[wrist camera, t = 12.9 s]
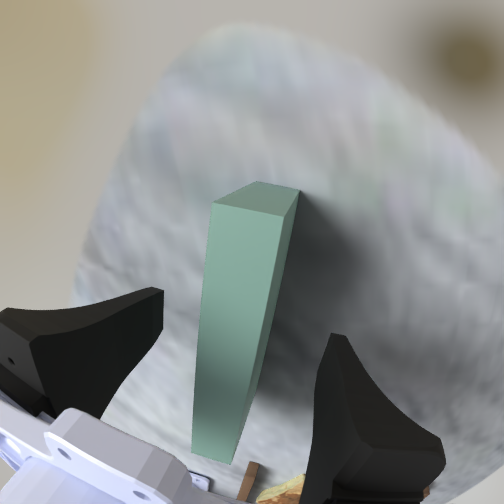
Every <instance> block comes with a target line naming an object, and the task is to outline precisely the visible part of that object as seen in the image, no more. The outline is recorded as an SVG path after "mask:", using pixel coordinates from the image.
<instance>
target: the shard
mask: <svg viewBox="0 0 504 504" xmlns="http://www.w3.org/2000/svg"><path fill="white" fill-rule="evenodd" d="M304 480H305V474H301V475H299V476H297V477H296V478H293V479H291V480H289V481H287V482H285V483H283V484H282V485H278V486H275V487H272V488H269V489H267V490H263V491H262V492H261V494H260V495H259V496H258V497H257V499H256V502H257V503H258V504H298V503H299V500H300V496H301V492H302V488H303V484H304Z"/></svg>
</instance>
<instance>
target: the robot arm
mask: <svg viewBox="0 0 504 504" xmlns="http://www.w3.org/2000/svg"><path fill="white" fill-rule="evenodd" d="M163 308H164V290H161V289H158V288H154V287H149V288H145V289H141V290H138V291H135V292H132V293H129V294H126V295H123V296H120V297H117V298H113V299H110V300H106V301H103V302H99V303H96V304H92V305H87V306H82V307H76V308H69V309H58V310H25V309H14V308H6V309H4V310H2V311H1V312H0V457H1V458H2V459H3V460H4V461H5V462H6V463H7V464H8V465H9V466H10V467H12V468H13V469H14V470H15V471H16V473H15V474H14V476H13V477H12V478H11V479H10V480H9V481H8V482H7V484H6V485H5V486H4V487H3V488H2V490H1V491H0V504H252V503H248V502H244V501H240V500H236V499H232V498H228V497H225V496H221V495H218V494H214V493H211V492H208V489H209V482H210V481H209V479H207V478H205V477H202V476H199V475H196V474H193V473H190V472H189V471H188V469H187V467H186V465H184V464H183V463H182V462H181V461H180V460H178V459H177V458H176V457H175V456H174V455H172V454H170V453H168V452H166V451H164V450H162V449H160V448H159V447H157V446H154V445H152V444H150V443H147V442H145V441H143V440H140V439H138V438H136V437H134V436H131V435H129V434H127V433H125V432H123V431H121V430H119V429H117V428H115V427H112V426H110V425H108V424H107V423H105V422H103V421H101V420H100V418H101V417H102V415H103V413H104V411H105V409H106V408H107V406H108V404H109V403H110V401H111V399H112V398H113V396H114V394H115V393H116V391H117V390H118V388H119V387H120V385H121V384H122V382H123V381H124V380H125V378H126V377H127V376H128V375H129V374H130V372H131V371H132V370H133V369H134V368H135V367H136V365H137V364H138V363H139V362H140V361H141V360H142V358H143V357H144V356H145V355H146V354H147V352H148V351H149V350H150V349H151V348H152V346H153V345H154V343H155V342H156V340H157V339H158V337H159V335H160V334H161V332H162V330H163ZM445 465H446V458H445V454H444V449H443V445H442V442H441V439H440V438H439V437H437V436H435V435H434V434H432V433H430V432H429V431H427V430H425V429H424V428H422V427H421V426H419V425H418V424H417V423H415V422H414V421H412V420H411V419H410V418H409V417H407V416H406V415H405V414H404V413H403V412H401V411H400V410H399V409H398V408H397V407H396V406H395V405H394V404H393V403H392V402H391V401H390V400H389V399H388V398H387V397H386V396H385V395H384V394H383V392H382V391H381V390H380V389H379V388H378V387H377V385H376V384H375V383H374V381H373V380H372V379H371V377H370V376H369V374H368V373H367V372H366V370H365V369H364V367H363V365H362V364H361V362H360V361H359V359H358V357H357V355H356V354H355V352H354V350H353V348H352V346H351V345H350V343H349V341H348V339H347V337H346V336H344V335H339V334H334V333H331V335H330V338H329V341H328V344H327V347H326V349H325V352H324V355H323V358H322V360H321V363H320V366H319V369H318V372H317V378H316V385H315V392H314V419H313V437H312V445H311V450H310V456H309V461H308V466H307V471H306V475H305V480H304V484H303V488H302V492H301V496H300V500H299V503H298V504H420V502H421V501H423V499H424V492H423V490H424V489H425V488H426V487H427V486H428V485H429V484H431V483H432V482H433V481H434V480H435V479H436V478H437V477H438V476H439V475H440V473H441V472H442V471H443V470H444V468H445Z"/></svg>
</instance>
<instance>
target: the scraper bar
mask: <svg viewBox="0 0 504 504" xmlns="http://www.w3.org/2000/svg"><path fill="white" fill-rule="evenodd" d="M299 192H300V190H298V189H293V188H288V187H283V186H278V185H273V184H268V183H262V182H257V181H256V182H254V183H252V184H250V185H247V186H245V187H243V188H241V189H239V190H237V191H235V192H233V193H231V194H229V195H226V196H224V197H222V198H220V199H218V200H216V201H214V202H212V208H211V216H210V224H209V232H208V241H207V250H206V259H205V268H204V278H203V288H202V298H201V309H200V320H199V332H198V344H197V357H196V372H195V387H194V404H193V423H192V447H191V453H194V454H197V455H200V456H203V457H206V458H209V459H212V460H216V461H219V462H222V463H226V464H229V465H231V462H232V460H233V457H234V454H235V451H236V448H237V445H238V443H239V440H240V437H241V434H242V431H243V428H244V425H245V422H246V419H247V416H248V413H249V410H250V407H251V404H252V401H253V398H254V395H255V392H256V389H257V385H258V381H259V376H260V372H261V368H262V364H263V360H264V356H265V351H266V347H267V343H268V339H269V334H270V330H271V326H272V321H273V317H274V312H275V308H276V304H277V299H278V294H279V290H280V285H281V281H282V276H283V271H284V267H285V262H286V257H287V252H288V248H289V243H290V238H291V233H292V228H293V223H294V218H295V213H296V208H297V203H298V197H299Z"/></svg>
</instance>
